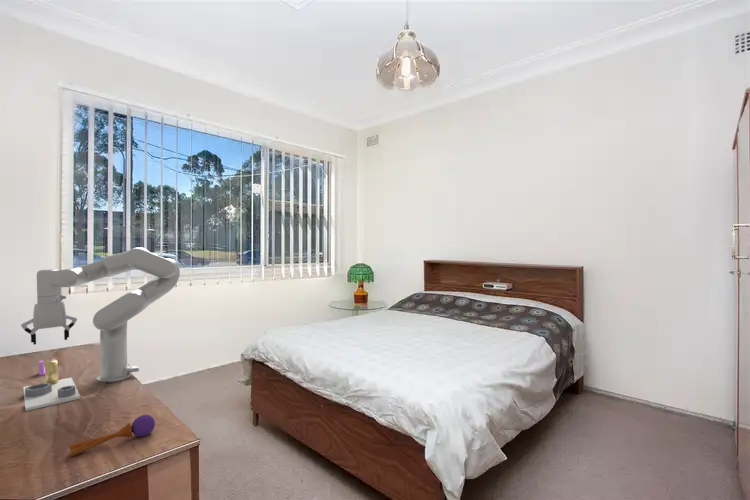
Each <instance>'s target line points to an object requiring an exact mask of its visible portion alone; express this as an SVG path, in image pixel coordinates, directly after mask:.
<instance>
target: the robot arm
mask: <svg viewBox="0 0 750 500" xmlns="http://www.w3.org/2000/svg"><path fill="white" fill-rule="evenodd" d="M133 270H139V271H141V272H144V273H146V274H148V275H149V274H150V275H151V276H154V278H153V279H151V280H150V281H148V282H146V283H145V284H144V285H141V286H140V287H138V288H136V289H134V290H131V291H130V292H127V293H125V294H124V295H122V296H120V297H119V298H117V299H115V300H114V301H112V302H111V303H109V304H108V305H107V304H106V306H104V307H103V308H101V309H99V310H97V311H96V313H94V315H93V318H92V323H93V327H94V328H96V329H97V330H99V358H100V359H99V360H100V361H99V362H100V363H99V364H100V375H98V376H97V377H96V381H98V382H104V383H106V384H107V383H116V382H120V381H123V380H126V379H128V378H130V377H131V376H132V375H133V373H137V372H139V371H140V367H139V366H138V365H137V366H135V365H134V366H131V365H130V363H128V335H127V334H128V321H130V320H131V319H132V318H134V317H136V316H137V315H139V314H141V313H142V312H143V311H144V310H145V309H147V308H148V307H149V306H150V305H152V304H153V303H154V302H156V301H157V300H160V298H162V297H163V296H165V295H167V294H168V293H169V292H170V291H172V289H174V288H175V286H176V285H177V284H178V283H179V282H178V281H179V278H180V272H181V271H180V265H179V263H178V262H177V260H175V259H174V258H170V257H169V258H168V257H167V258H166V257H162V256H160V255H159V254H155V253H153V252H150V250H148V249H147V248H145V247H133V248H131V249H129V250H126V251H123V252H122V251H121V252H119V253H116V254H112V255H108V256H105V257H103V258H101V259H100V260H97V261H95V262H92V263H91V262H90V263H88V264H85V265H82V266H81V265H80V266H77V267H72V268H71V267H70V268H66V269H53V268H52V269H40V270H38V271H37V273H36V303H34V307H33V312H32V313H33V314H32V318H31V319H29V320H27V321H24V322H23V323H22V324H21V325H20V326H21V328H22V329H23V330H24V332H26V333H28V334H30V343H32V345H37V336H36V335H37V334H36V332H37V331H39V330H44V329H52V328H60V327H62V328H64V330H63V335H64V336H63V338H64V339H63V340H65V341H67V340H68V338H70V330H71V328H72V327H73V326H75V325H76V322H77V321H78V318H77V317H74V316H71V315H68V314H67V311H66V305H65V303H64V301H63V300H65V299H67V296H66V295H62V288H72V287H73V288H74V287H77V286H80V285H84V284H86V283H90V282H93V281H97V280H100V279H103V278H109V277H114V276H117V275H119V274H123V273H124V274H125V273H127V272H130V271H133ZM67 320H69V321H71V322H70V323H69V324H67ZM31 324H32V325H33V328H32V329H30V328H29V327H28V326H29V325H31ZM130 373H131V374H132V375H131V374H130Z"/></svg>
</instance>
